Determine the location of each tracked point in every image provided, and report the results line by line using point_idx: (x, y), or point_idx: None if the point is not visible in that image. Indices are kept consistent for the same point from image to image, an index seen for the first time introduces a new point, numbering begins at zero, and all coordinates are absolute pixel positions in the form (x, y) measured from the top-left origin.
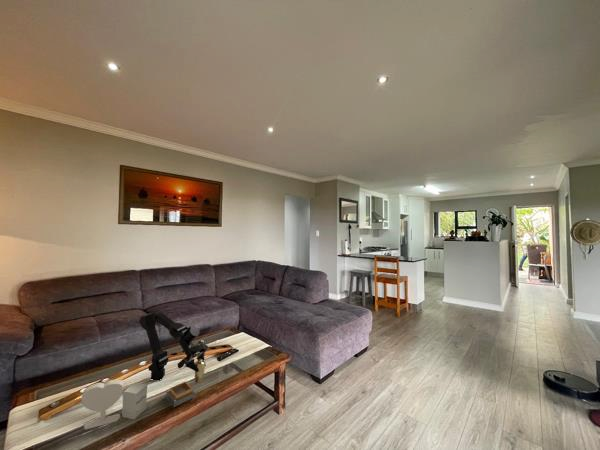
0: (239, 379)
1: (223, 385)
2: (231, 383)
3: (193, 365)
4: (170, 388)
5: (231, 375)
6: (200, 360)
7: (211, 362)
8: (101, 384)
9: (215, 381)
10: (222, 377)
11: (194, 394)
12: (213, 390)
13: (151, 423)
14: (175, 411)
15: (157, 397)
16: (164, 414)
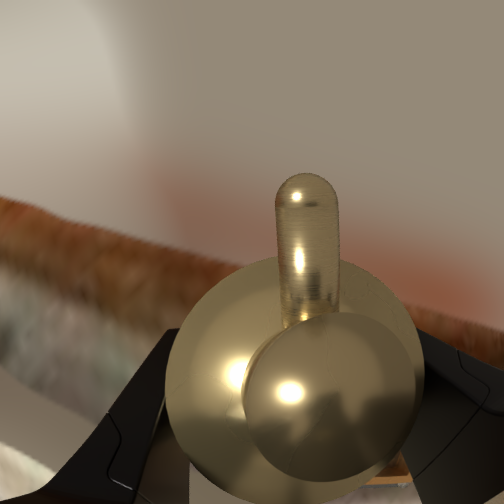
0: (32, 212)
1: (105, 257)
2: (72, 226)
3: (484, 370)
4: (410, 477)
5: (15, 283)
6: (361, 354)
7: (2, 484)
8: None
9: (96, 340)
10: (46, 324)
11: None
12: (176, 280)
13: (496, 342)
14: (426, 327)
15: (404, 500)
16: None
